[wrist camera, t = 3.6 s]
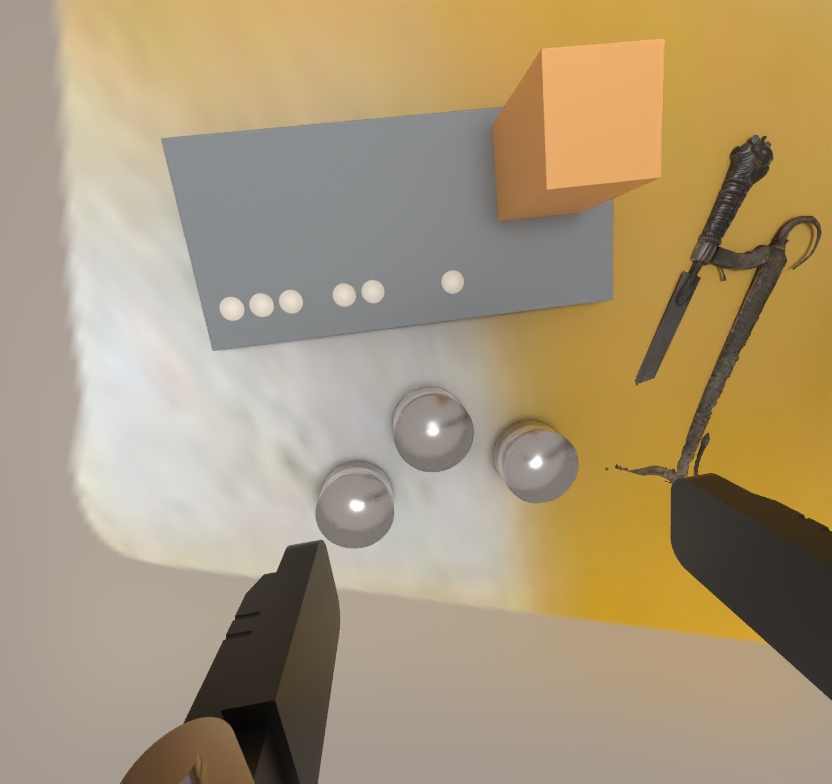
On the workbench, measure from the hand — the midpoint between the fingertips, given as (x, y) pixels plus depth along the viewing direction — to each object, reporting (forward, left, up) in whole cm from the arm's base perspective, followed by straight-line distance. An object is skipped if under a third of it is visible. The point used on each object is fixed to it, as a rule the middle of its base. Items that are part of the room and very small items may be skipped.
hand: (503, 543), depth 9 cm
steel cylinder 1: (+5, +6, -15) cm, 17 cm away
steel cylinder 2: (0, +2, -15) cm, 15 cm away
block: (-7, -11, -14) cm, 19 cm away
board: (0, -9, -15) cm, 18 cm away
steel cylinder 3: (-6, +5, -15) cm, 17 cm away
